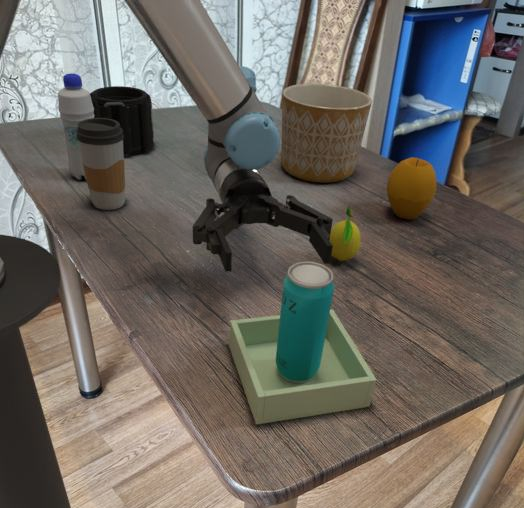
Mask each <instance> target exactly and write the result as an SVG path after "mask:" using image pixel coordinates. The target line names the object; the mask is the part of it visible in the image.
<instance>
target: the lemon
mask: <svg viewBox="0 0 524 508" xmlns="http://www.w3.org/2000/svg"><path fill="white" fill-rule="evenodd" d="M351 212H352V207H350V205H349V206H348V207H347V208H346V211H345V214H346V215H347V216H348V217H347V219H345V220H341V221H339V222H337V223H335V224H334V225H333V227H332V228H331V234H330V240H329V241H330V243H331V244H332V245H333V248H332V254H331V257H333V258H335V259H337V260H338V261H339V262H343V261H348V260H352V259H353V258H355V257H356V255H357V254H358V252H359V250H360V248H361V243H362V242H361V241H362V238H361V231H360V229H359V227H358V225H356V223H355V222H353V221H351V220H350V218H354V216H353V215H352V214H351Z"/></svg>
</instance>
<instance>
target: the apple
mask: <svg viewBox="0 0 524 508" xmlns="http://www.w3.org/2000/svg"><path fill="white" fill-rule="evenodd" d="M386 185H387V186H386V195H387V199H388V202H389V204H390V205H389V206H390V207H391V209H392V212H393V213H394V214H395V216H397V217H399V218H400V219H405V220H409V221H410V220H415V219H416V218H418V217H419V216H421V215H422V213H424V211H426V209H427V208H428V207H429V206H430V204H431V202H432V201H433V199H434V198H435V195H436V192H437V174H436V171H435V168H434V166H433V165H432V164H431V163H430V162H429V161H427V160H424V159H422V158H418V157H414V156H413V157H412V156H411V157H408V158H406V159H403V160H401V161H400V162H399V163H398V164H396V165H395V167H394V168H393V170H392V171H391V173H390V174H389V177H388V179H387V184H386Z"/></svg>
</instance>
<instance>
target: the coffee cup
mask: <svg viewBox="0 0 524 508" xmlns="http://www.w3.org/2000/svg"><path fill="white" fill-rule="evenodd" d="M76 133H77V140H78V142H79V146H80V151H81V156H82V162H83V167H84V171H85V176H86V179H85V180H86V184H87V188H88V191H89V196H90V200H91V203H92V204H93V206H94V207H95V208H96V209H99V210H106V211H111V210H116V209H119V208H122V207H123V206H124V204H125V202H126V176H125V175H126V173H125V170H126V169H125V157H124V154H123V139H124V135H123V130H122V128H120V123H119V122H118V121H116V120H113V119H108V118H90V119H85V120H82V121H80V122H79V123H78V129H77V130H76Z"/></svg>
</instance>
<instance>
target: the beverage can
mask: <svg viewBox="0 0 524 508" xmlns="http://www.w3.org/2000/svg"><path fill="white" fill-rule="evenodd" d="M286 273H287V275H286V276H285V278H284V279H283V286H282V296H281V304H280V305H281V307H280V314H279V315H280V323H279V332H278V342H277V351H276V365H277V368H278V371H279V373H280V375H281V376H282V377H283V378H284V379H285V380H287V381H289V382H291V383H297V384H300V383H305V382H308V381H309V380H311V379H312V378H313V377H314V375H315V374H316V373H317V371H318V370H319V368H320V364H321V358H322V353H323V347H324V341H325V336H326V330H327V325H328V319H329V313H330V310H331V307H332V301H333V296H334V291H335V285H334V282H333V280H334V273H333V271H332V270H331V269H330V268H329V267H328V266H326V265H325V264H323V263H322V264H321V263H319V262H314V261H300V262H295V263H293V264H292V265H290V266H289V267H288V269H287V272H286Z"/></svg>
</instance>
